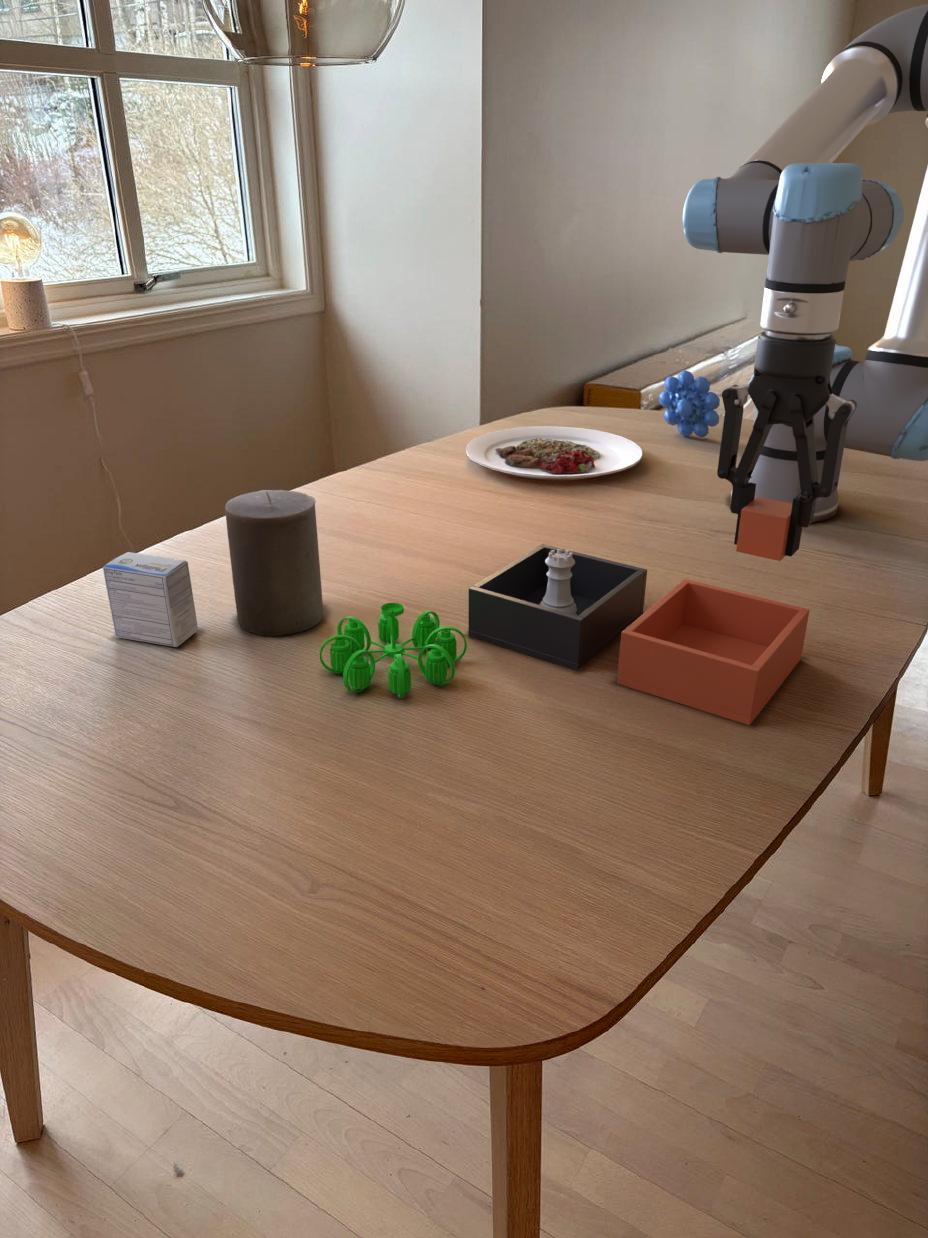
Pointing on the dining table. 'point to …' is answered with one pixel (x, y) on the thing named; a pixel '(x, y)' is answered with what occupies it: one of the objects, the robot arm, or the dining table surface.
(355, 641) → the chandelier
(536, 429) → the plated food
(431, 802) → the dining table surface
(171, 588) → the medicine box
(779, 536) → the terracotta block
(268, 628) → the pillar candle
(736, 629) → the terracotta bin
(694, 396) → the grapes
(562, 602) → the rook chess piece
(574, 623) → the charcoal bin
